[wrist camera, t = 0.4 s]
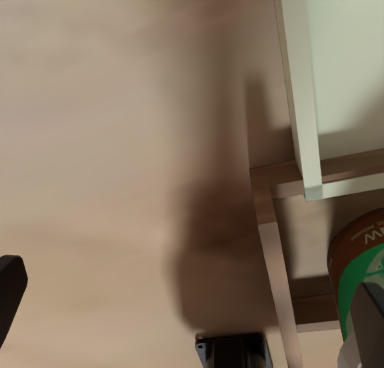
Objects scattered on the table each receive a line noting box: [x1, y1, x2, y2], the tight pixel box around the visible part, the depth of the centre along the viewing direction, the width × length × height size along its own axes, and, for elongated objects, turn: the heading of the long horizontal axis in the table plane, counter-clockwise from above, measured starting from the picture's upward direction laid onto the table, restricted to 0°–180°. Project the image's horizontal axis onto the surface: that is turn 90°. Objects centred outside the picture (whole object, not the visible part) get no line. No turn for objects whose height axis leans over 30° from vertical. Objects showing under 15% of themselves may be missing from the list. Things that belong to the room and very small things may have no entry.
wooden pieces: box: [249, 148, 384, 368], centre depth 23 cm, size 14×13×6 cm
